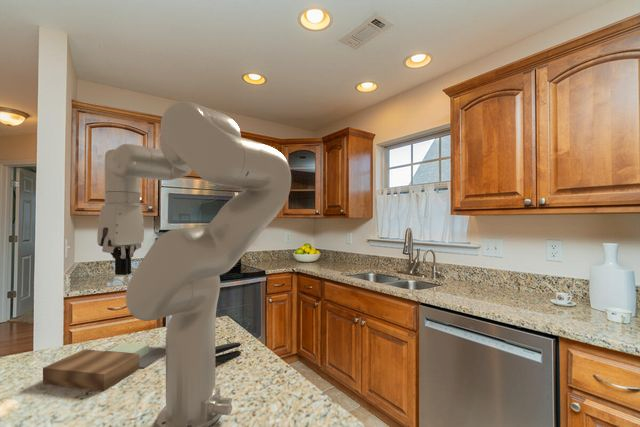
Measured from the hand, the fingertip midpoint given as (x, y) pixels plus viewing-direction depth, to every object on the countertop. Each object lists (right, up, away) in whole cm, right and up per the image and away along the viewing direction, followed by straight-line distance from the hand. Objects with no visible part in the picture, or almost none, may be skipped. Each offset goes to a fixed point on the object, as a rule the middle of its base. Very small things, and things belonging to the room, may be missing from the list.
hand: (123, 274), depth 78 cm
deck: (-10, -27, +4) cm, 29 cm away
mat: (-8, -27, +16) cm, 32 cm away
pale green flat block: (-8, -26, +15) cm, 31 cm away
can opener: (+19, -28, +10) cm, 35 cm away
